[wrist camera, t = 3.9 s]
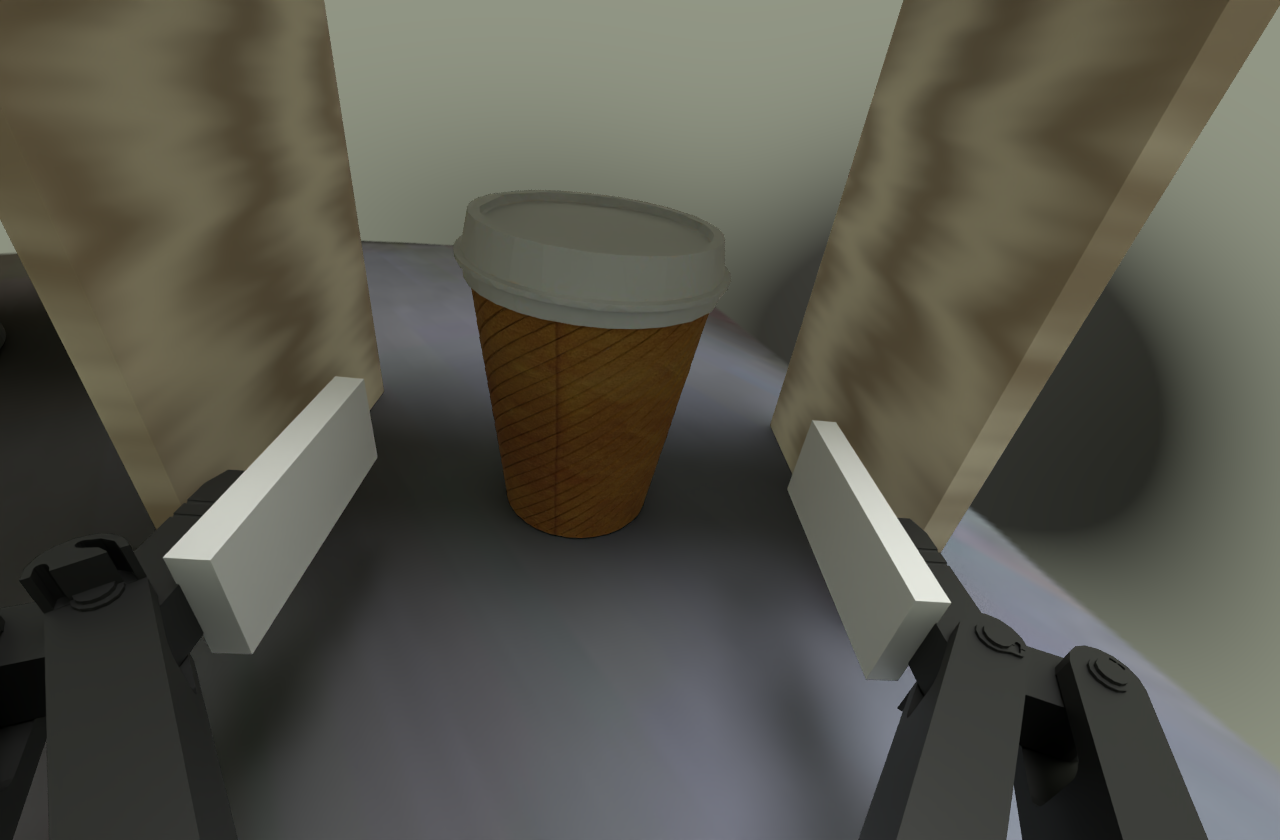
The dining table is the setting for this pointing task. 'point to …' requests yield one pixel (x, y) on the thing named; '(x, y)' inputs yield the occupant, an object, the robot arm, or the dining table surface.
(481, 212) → the disposable coffee cup
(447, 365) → the dining table surface
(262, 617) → the robot arm
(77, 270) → the plywood stool
